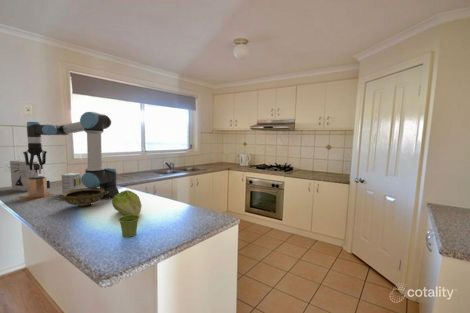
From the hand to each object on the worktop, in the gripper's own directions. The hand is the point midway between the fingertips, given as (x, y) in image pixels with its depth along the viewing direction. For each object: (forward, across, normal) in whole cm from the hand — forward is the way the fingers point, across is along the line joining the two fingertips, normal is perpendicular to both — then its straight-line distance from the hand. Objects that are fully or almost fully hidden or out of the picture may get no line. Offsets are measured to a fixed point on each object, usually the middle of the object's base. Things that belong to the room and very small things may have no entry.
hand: (36, 173), depth 168 cm
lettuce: (+19, -17, +87) cm, 91 cm away
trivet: (+18, 0, 0) cm, 18 cm away
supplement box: (+19, -19, +9) cm, 28 cm away
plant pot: (+19, +1, +114) cm, 116 cm away
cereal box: (+19, -4, -40) cm, 44 cm away
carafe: (+17, -1, 0) cm, 17 cm away
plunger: (+16, 0, 0) cm, 16 cm away
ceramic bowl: (+19, -10, +48) cm, 52 cm away
